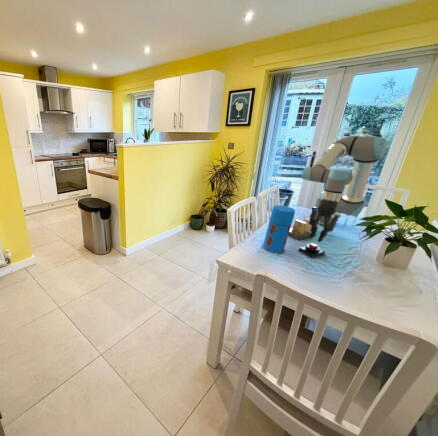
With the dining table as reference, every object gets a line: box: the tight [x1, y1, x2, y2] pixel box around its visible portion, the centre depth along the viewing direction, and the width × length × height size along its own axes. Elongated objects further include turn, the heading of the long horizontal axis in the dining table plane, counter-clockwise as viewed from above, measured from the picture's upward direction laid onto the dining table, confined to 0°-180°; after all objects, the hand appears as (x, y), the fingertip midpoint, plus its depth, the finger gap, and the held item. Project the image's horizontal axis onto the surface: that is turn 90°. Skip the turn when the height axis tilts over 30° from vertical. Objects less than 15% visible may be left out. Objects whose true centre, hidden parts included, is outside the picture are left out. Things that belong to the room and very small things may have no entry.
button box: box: [298, 243, 326, 259], centre depth 129 cm, size 10×8×4 cm
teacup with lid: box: [303, 216, 320, 233], centre depth 154 cm, size 12×9×12 cm
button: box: [309, 242, 319, 249], centre depth 128 cm, size 4×4×2 cm
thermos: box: [262, 204, 296, 254], centre depth 128 cm, size 11×11×25 cm
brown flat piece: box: [288, 227, 311, 241], centre depth 150 cm, size 12×11×3 cm
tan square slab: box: [292, 219, 307, 234], centre depth 148 cm, size 7×2×7 cm, turn 20°
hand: (315, 239), depth 126 cm, fingers open, 4 cm apart
